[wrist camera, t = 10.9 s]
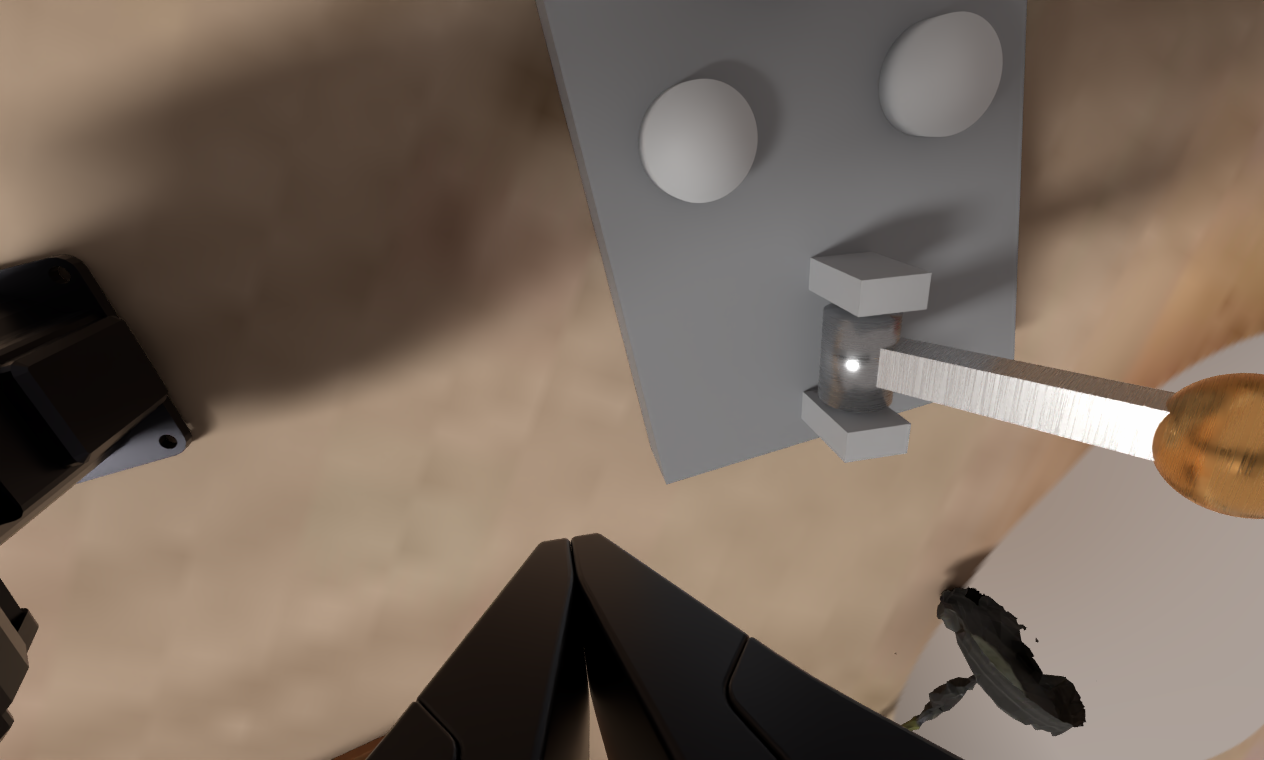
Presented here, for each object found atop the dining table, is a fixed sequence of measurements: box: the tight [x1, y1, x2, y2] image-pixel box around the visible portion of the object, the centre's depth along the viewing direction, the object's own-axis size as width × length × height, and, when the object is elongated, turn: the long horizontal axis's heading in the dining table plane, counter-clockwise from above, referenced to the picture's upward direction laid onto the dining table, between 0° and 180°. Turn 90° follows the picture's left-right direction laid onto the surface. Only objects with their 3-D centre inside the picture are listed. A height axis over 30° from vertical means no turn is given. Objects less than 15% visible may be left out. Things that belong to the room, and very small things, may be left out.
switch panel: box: [535, 0, 1027, 484], centre depth 17 cm, size 13×21×6 cm, turn 13°
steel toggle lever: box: [818, 303, 1264, 519], centre depth 15 cm, size 3×3×11 cm
